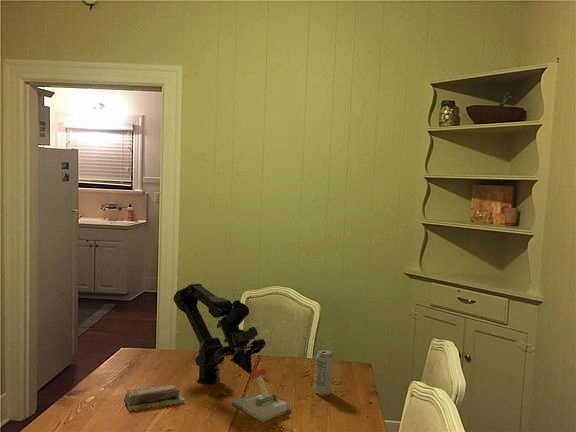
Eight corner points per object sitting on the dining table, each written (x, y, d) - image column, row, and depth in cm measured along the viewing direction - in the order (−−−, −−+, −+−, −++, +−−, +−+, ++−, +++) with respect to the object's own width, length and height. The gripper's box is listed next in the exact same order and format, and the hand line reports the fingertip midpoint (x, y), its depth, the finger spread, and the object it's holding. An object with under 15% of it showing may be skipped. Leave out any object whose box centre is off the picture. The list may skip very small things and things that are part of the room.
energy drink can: (334, 394, 187) (337, 353, 186) (321, 397, 184) (323, 355, 183) (324, 388, 192) (326, 348, 191) (311, 391, 189) (313, 350, 188)
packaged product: (129, 398, 167) (123, 386, 176) (129, 413, 167) (123, 401, 176) (185, 390, 175) (177, 379, 184) (184, 404, 175) (176, 393, 184)
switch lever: (259, 404, 169) (249, 373, 172) (271, 400, 172) (261, 370, 176) (263, 402, 168) (252, 371, 171) (275, 398, 171) (264, 368, 175)
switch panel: (231, 404, 176) (232, 389, 175) (259, 395, 184) (260, 380, 184) (262, 422, 164) (262, 405, 164) (290, 411, 172) (291, 396, 172)
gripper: (219, 324, 173) (238, 366, 165) (263, 315, 185) (283, 355, 178) (205, 341, 179) (223, 383, 172) (249, 332, 192) (267, 371, 184)
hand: (250, 372), depth 176 cm, fingers closed
